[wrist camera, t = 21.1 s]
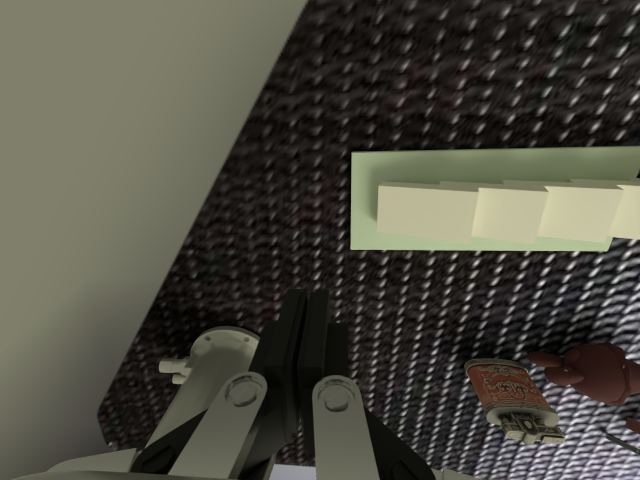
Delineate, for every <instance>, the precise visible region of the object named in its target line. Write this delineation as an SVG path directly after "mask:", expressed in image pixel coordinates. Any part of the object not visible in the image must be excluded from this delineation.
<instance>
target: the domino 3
mask: <svg viewBox="0 0 640 480" xmlns="http://www.w3.org/2000/svg"><path fill="white" fill-rule="evenodd" d="M501 184H507V185H525V186H543V187H545V188H546V189H547V190H548V191H549V194H548V198H547V201H546V205H545V208H544V212H543V216H542V219H541V223H540V226H539V230H538V234H537V236H540V237H551V238H561V239H571V240H581V241H591V242H602V243H605V241H606V239H607V236H608V233H609V230H610V228H611V225H612V222H613V219H614V217H615V214H616V211H617V209H618V206H619V203H620V200H621V198H622V195H623V192H624V189H622V188H620V187H619V186H617V185H615V184H595V183H570V182H545V181H521V180H502V181H501Z"/></svg>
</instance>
